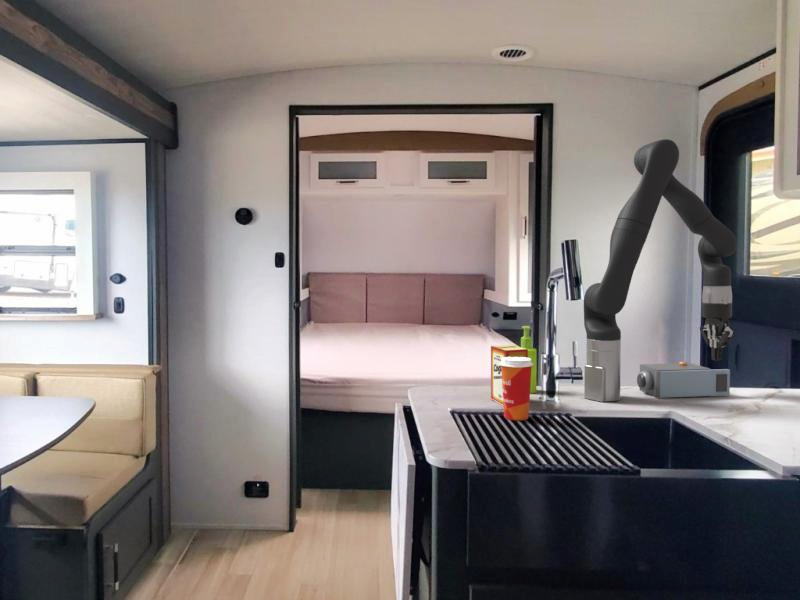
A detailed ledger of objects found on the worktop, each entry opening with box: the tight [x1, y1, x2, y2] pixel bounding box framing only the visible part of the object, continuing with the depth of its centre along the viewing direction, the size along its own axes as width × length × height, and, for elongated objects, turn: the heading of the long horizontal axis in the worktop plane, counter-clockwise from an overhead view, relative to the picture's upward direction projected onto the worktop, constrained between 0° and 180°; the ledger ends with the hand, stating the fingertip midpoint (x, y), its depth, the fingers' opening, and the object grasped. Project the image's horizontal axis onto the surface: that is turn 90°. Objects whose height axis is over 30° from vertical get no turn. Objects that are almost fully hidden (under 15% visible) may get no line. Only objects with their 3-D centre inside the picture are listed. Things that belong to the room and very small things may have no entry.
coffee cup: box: [500, 357, 533, 421], centre depth 138 cm, size 8×8×15 cm
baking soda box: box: [490, 344, 528, 404], centre depth 153 cm, size 10×6×16 cm
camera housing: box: [636, 361, 712, 399], centre depth 163 cm, size 10×18×9 cm, turn 95°
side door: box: [654, 368, 731, 399], centre depth 157 cm, size 2×22×7 cm, turn 95°
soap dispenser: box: [520, 325, 538, 394], centre depth 168 cm, size 6×7×20 cm
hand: (716, 360), depth 160 cm, fingers closed
